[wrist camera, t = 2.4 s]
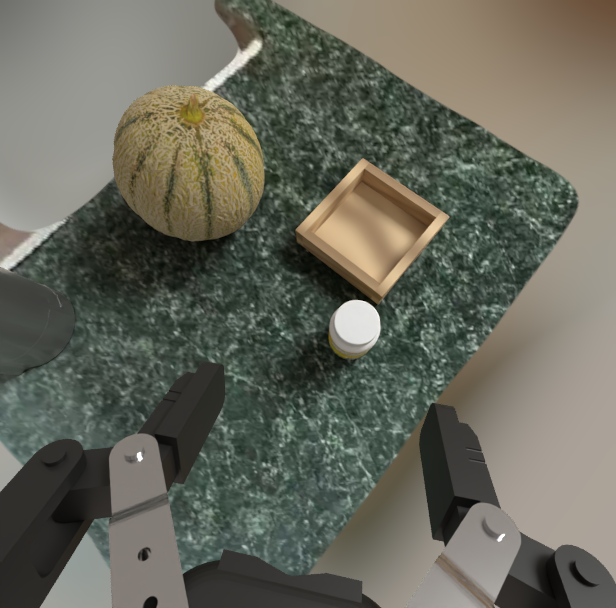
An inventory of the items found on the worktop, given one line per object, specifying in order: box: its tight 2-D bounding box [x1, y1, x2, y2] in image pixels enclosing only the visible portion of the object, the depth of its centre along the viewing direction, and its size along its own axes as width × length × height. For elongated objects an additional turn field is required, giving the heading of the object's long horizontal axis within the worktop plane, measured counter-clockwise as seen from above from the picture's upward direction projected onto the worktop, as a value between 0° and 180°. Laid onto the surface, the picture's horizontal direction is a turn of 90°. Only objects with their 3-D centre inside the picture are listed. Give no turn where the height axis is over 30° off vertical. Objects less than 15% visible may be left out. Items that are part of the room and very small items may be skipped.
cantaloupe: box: [113, 85, 264, 242], centre depth 36 cm, size 15×15×15 cm
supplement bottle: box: [329, 300, 380, 360], centre depth 34 cm, size 5×5×8 cm
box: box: [295, 159, 449, 304], centre depth 40 cm, size 12×12×3 cm
